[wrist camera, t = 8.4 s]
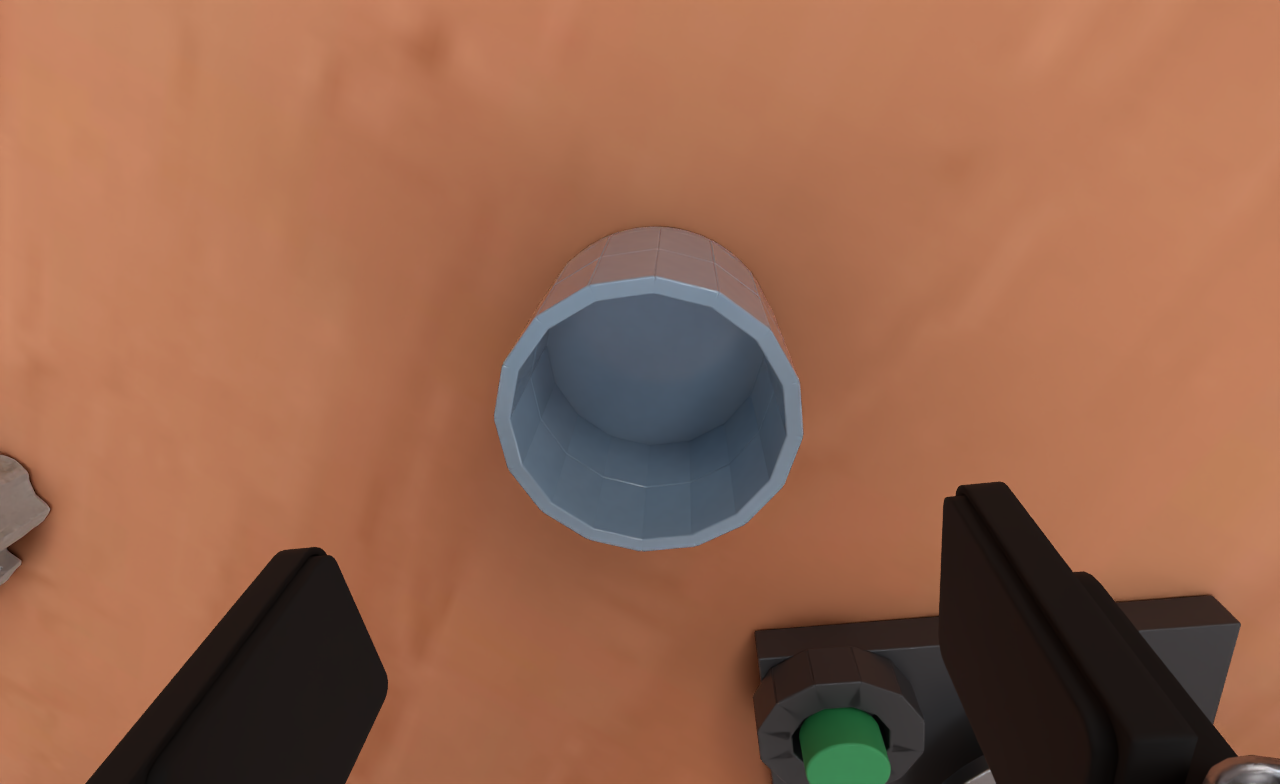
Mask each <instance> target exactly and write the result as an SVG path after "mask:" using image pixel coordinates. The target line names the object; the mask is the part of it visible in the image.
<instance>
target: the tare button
mask: <svg viewBox="0 0 1280 784" xmlns="http://www.w3.org/2000/svg"><path fill="white" fill-rule="evenodd" d="M799 739H800V745H801V750H802V756H803V762H804V767H805V773H806V777H807V780H808V781H809V783H810V784H885V783H886V782H887V781H888V779H889V776H890V771H891V766H890V762H889V758H888V755H887V752H886V749H885V745H884V742H883V739H882V735H881V732H880V729H879V726H878V724H877V722H876V721H875V719H874V718H873V717H872V716H871V715H870V714H868V713H867V712H865V711H863V710H860V709H856V708H853V707H848V708H833V709H824V710H822V711H819V712H817V713H815V714H813V715H811V716H809V717H808V718H807V719H806V720H805V721H804V722H803V724H802V726H801V728H800V732H799Z"/></svg>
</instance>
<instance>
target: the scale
mask: <svg viewBox="0 0 1280 784" xmlns="http://www.w3.org/2000/svg"><path fill="white" fill-rule="evenodd" d="M1116 604H1117V605H1118V606H1119V607H1120V609H1121V610H1122V611H1123V612H1124V614H1125V615H1126V616H1127V617H1128V619H1129V620H1130V621H1131V622H1132V624H1133V625H1134V626H1135V628H1136V629H1137V630H1138V631H1139V633H1140V634H1141V635H1142V636H1143V638H1144V639H1145V640H1146V641H1147V643H1148V644H1149V645H1150V646H1151V648H1152V649H1153V650H1154V651H1155V653H1156V654H1157V655H1158V656H1159V658H1160V659H1161V660H1162V661H1163V663H1164V664H1165V665H1166V666H1167V668H1168V669H1169V670H1170V672H1171V673H1172V674H1173V675H1174V677H1175V678H1176V679H1177V680H1178V682H1179V683H1180V684H1181V685H1182V687H1183V688H1184V689H1185V690H1186V692H1187V693H1188V694H1189V695H1190V697H1191V698H1192V699H1193V700H1194V702H1195V703H1196V704H1197V705H1198V707H1199V708H1200V709H1201V710H1202V712H1203V713H1204V714H1205V716H1206V717H1207V718H1208V719H1209V721H1210V722H1211V723H1212V724H1213V723H1214V720H1215V716H1216V712H1217V709H1218V705H1219V702H1220V698H1221V694H1222V691H1223V687H1224V683H1225V680H1226V676H1227V673H1228V669H1229V665H1230V662H1231V658H1232V655H1233V651H1234V647H1235V644H1236V640H1237V637H1238V633H1239V629H1240V626H1241V624H1240V622H1239V621H1238V620H1237V619H1236V618H1235V617H1234V616H1233V615H1232V614H1231V613H1230V612H1229V611H1228V610H1227V609H1226V608H1225V607H1224V606H1223V605H1222V604H1221V603H1220V602H1219V601H1217V600H1216V599H1215V598H1214V597H1213V596H1212V595H1208V596H1196V597H1183V598H1170V599H1157V600H1144V601H1132V602H1119V603H1116ZM938 628H939V617H927V618H914V619H901V620H888V621H875V622H863V623H850V624H837V625H824V626H811V627H799V628H786V629H773V630H760V631H755V639H756V647H757V656H758V665H759V673H760V682H761V683H760V685H759V686H758V688H757V690H756V691H755V693H754V696H753V700H754V709H755V718H756V726H757V735H758V743H759V751H760V759H761V760H762V762H763V763H764V764H766V765H767V766H768V767H769V768H770V769H771V776H772V784H810V783H809V781H808V780H807V777H806V773H805V767H804V762H803V756H802V750H801V745H800V739H799V732H800V728H801V726H802V724H803V722H804V721H805V720H806V719H807V718H808V717H809V716H811V715H813V714H815V713H817V712H819V711H822V710H824V709H833V708H848V707H853V708H856V709H860V710H863V711H865V712H867V713H868V714H870V715H871V716H872V717H873V718H874V719H875V721H876V722H877V724H878V726H879V729H880V732H881V735H882V739H883V742H884V745H885V749H886V752H887V755H888V758H889V762H890V766H891V771H890V776H889V779H888V781H887V782H886V783H885V784H942V783H943V782H944V781H945V780H946V779H947V778H949V777H950V776H951V775H953V774H954V773H955V772H957V771H958V770H959V769H961V768H962V767H963V766H965V765H967V764H968V763H970V762H972V761H973V760H975V759H977V758H979V757H981V756H983V752H982V750H981V748H980V745H979V743H978V741H977V738H976V736H975V734H974V731H973V729H972V727H971V724H970V722H969V720H968V717H967V715H966V713H965V710H964V708H963V706H962V703H961V701H960V699H959V696H958V694H957V692H956V689H955V687H954V685H953V683H952V680H951V678H950V676H949V673H948V671H947V669H946V666H945V664H944V661H943V659H942V655H941V651H940V647H939V639H938Z"/></svg>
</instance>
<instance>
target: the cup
mask: <svg viewBox="0 0 1280 784" xmlns="http://www.w3.org/2000/svg"><path fill="white" fill-rule="evenodd" d="M494 421H495V425H496V428H497V432H498V435H499V439H500V442H501V446H502V450H503V453H504V457H505V460H506V464H507V467H508V468H509V471H510V472H511V474H512V475H513V476H514V477H515V479H516V480H517V481H518V482H519V484H520V485H521V486H522V487H523V489H524V490H525V491H526V493H527V494H528V495H529V496H530V498H531V499H532V500H533V501H534V503H535V504H536V505H537V506H538V508H539V509H540V510H542V512H543V513H545V514H547V515H548V516H550V517H552V518H553V519H555V520H557V521H558V522H560V523H561V524H563V525H565V526H566V527H568V528H570V529H571V530H573V531H575V532H576V533H578V534H579V535H581V536H583V537H584V538H586V539H589V540H592V541H597V542H601V543H605V544H610V545H614V546H619V547H623V548H627V549H632V550H636V551H641V550H642V551H654V550H664V549H675V548H686V547H695V546H698V545H701V544H703V543H705V542H707V541H710V540H712V539H714V538H716V537H718V536H721V535H723V534H725V533H727V532H730V531H732V530H734V529H736V528H738V527H741V526H743V525H745V523H747V522H748V521H749V520H750V519H751V518H752V517H753V516H754V515H755V514H756V513H757V512H758V511H759V510H760V509H761V508H762V507H763V506H764V505H765V504H766V503H767V502H768V501H769V500H770V499H771V498H772V497H773V496H774V495H775V494H776V493H777V492H778V491H779V490H780V489H781V488H782V487H783V485H784V484H785V482H786V479H787V477H788V474H789V472H790V469H791V467H792V464H793V461H794V459H795V456H796V454H797V451H798V449H799V446H800V444H801V441H802V439H803V419H802V404H801V389H800V381H799V378H798V375H797V373H796V370H795V367H794V365H793V362H792V360H791V357H790V354H789V352H788V349H787V347H786V344H785V341H784V339H783V336H782V334H781V331H780V328H779V326H778V323H777V321H776V318H775V315H774V313H773V311H772V309H771V307H770V305H769V303H768V302H767V300H766V298H765V296H764V294H763V291H762V289H761V287H760V285H759V284H758V282H757V281H756V279H755V278H754V276H753V275H752V273H751V272H750V271H749V269H747V267H746V266H745V265H744V264H743V263H742V262H741V261H740V260H739V259H738V258H737V257H736V256H734V255H733V254H732V253H731V252H730V251H728V250H727V249H725V248H724V247H722V246H721V245H719V244H718V243H716V242H714V241H712V240H710V239H708V238H706V237H704V236H702V235H699V234H696V233H693V232H690V231H687V230H682V229H676V228H671V227H655V226H652V227H640V228H633V229H629V230H624V231H620V232H617V233H614V234H612V235H609V236H606V237H604V238H602V239H600V240H598V241H596V242H595V243H593V244H591V245H589V246H588V247H587V248H585V249H584V250H582V251H581V252H580V253H578V254H577V255H576V256H575V257H574V258H573V259H572V260H570V261H569V262H568V263H567V264H566V265H565V267H564V268H563V270H562V271H561V272H560V274H559V275H558V276H557V278H556V280H555V281H554V283H553V284H552V286H551V287H550V288H549V290H548V291H547V293H546V294H545V296H544V297H543V299H542V300H541V302H540V303H539V305H538V307H537V308H536V310H535V312H534V313H533V315H532V316H531V318H530V320H529V321H528V323H527V325H526V326H525V328H524V329H523V331H522V333H521V334H520V336H519V338H518V339H517V341H516V342H515V344H514V346H513V347H512V349H511V351H510V352H509V354H508V355H507V357H506V359H505V360H504V362H503V365H502V368H501V374H500V381H499V387H498V393H497V399H496V405H495V411H494Z"/></svg>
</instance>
